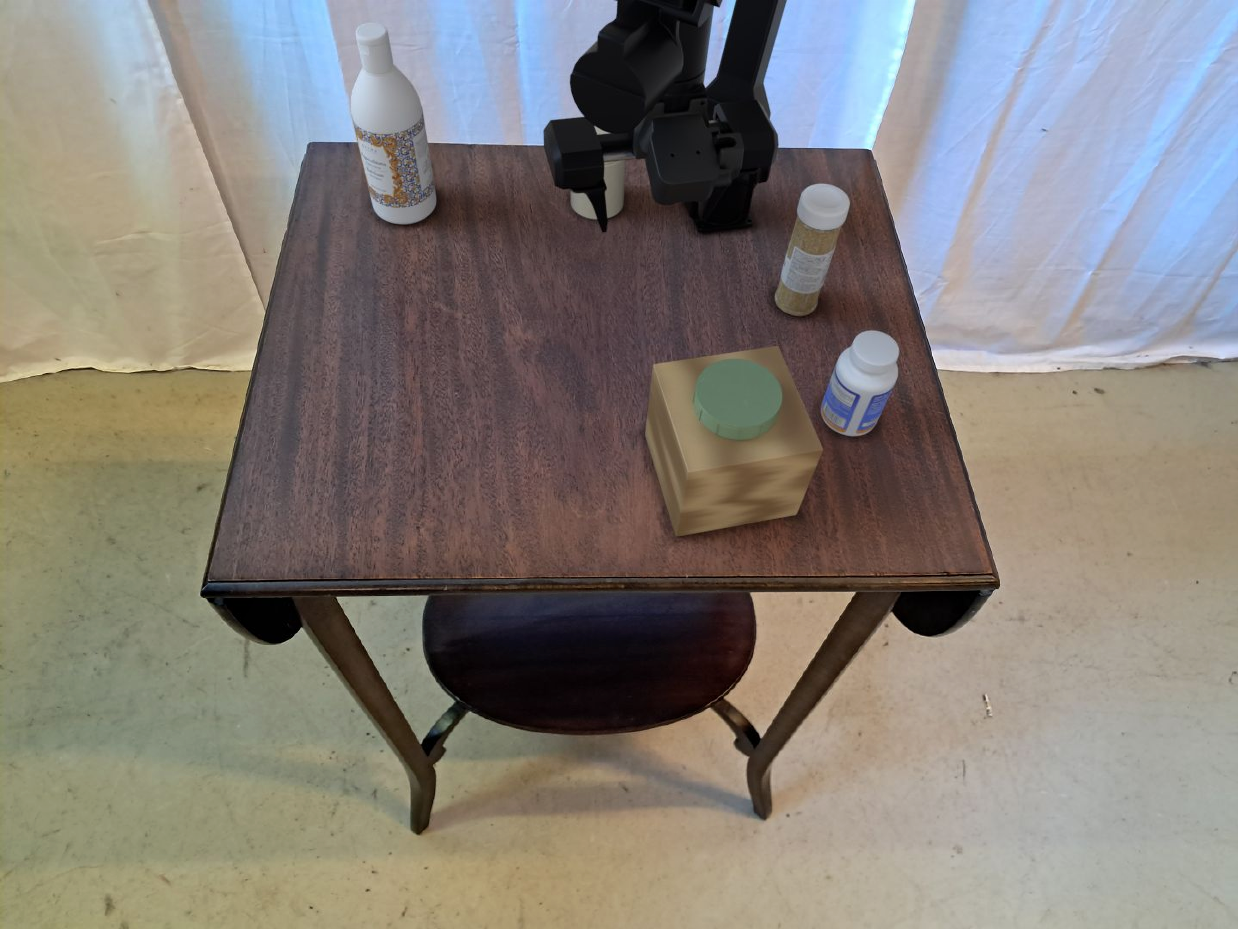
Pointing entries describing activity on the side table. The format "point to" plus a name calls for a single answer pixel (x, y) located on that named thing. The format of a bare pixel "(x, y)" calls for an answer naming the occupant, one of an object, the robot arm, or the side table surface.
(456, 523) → the side table surface
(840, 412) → the pill bottle
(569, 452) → the side table surface
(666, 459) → the oak stand
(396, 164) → the bath foam
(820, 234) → the sprinkles bottle
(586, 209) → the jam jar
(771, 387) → the jar lid
